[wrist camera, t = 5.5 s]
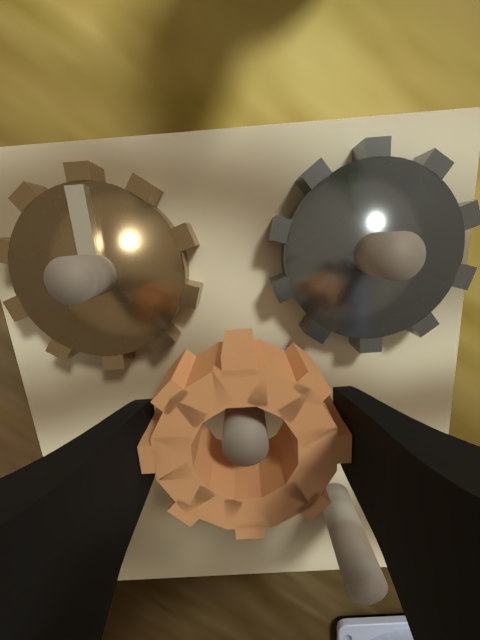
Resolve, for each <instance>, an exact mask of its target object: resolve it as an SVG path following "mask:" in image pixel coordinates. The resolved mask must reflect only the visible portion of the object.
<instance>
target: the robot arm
mask: <svg viewBox="0 0 480 640" xmlns="http://www.w3.org/2000/svg"><path fill="white" fill-rule="evenodd" d="M151 400H152V399H139V400H134V401H132V402H130V403H128V404H126V405H125V406H123V407H122V408H120V409H119V410H117V411H116V412H114V413H113V414H111V415H110V416H108V417H107V418H105V419H104V420H102V421H101V422H99V423H98V424H96V425H95V426H93V427H92V428H90V429H89V430H87V431H86V432H84V433H82V434H81V435H79V436H77V437H76V438H74V439H73V440H71V441H69V442H68V443H66V444H65V445H63V446H61V447H60V448H58V449H56V450H55V451H53V452H51V453H49V454H48V455H46V456H44V457H42V458H40V459H38V460H36V461H35V462H33V463H31V464H29V465H27V466H25V467H23V468H21V469H19V470H17V471H15V472H13V473H11V474H9V475H6V476H4V477H2V478H0V640H101V638H102V634H103V630H104V627H105V623H106V619H107V615H108V612H109V608H110V604H111V601H112V597H113V594H114V590H115V587H116V583H117V580H118V576H119V573H120V569H121V566H122V563H123V560H124V557H125V554H126V551H127V548H128V546H129V543H130V540H131V538H132V535H133V533H134V530H135V528H136V525H137V522H138V520H139V517H140V515H141V512H142V510H143V507H144V504H145V502H146V499H147V497H148V494H149V491H150V489H151V486H152V483H153V480H154V477H155V473H151V474H142V473H141V467H140V461H139V455H138V449H137V446H138V444H139V442H140V440H141V438H142V436H143V434H144V433H145V431H146V429H147V427H148V425H149V423H150V421H151V419H152V417H153V415H154V413H155V410H154V405H153V404H152V403H150V402H151ZM333 404H334V406H335V408H336V409H337V411H338V413H339V415H340V417H341V418H342V420H343V421H344V423H345V424H346V426H347V427H348V429H349V431H350V432H351V434H352V458H351V463H342V464H341V467H342V469H343V471H344V473H345V476H346V478H347V480H348V482H349V484H350V486H351V488H352V490H353V492H354V494H355V497H356V499H357V501H358V503H359V505H360V507H361V509H362V511H363V513H364V515H365V517H366V519H367V521H368V523H369V525H370V528H371V530H372V532H373V534H374V536H375V538H376V540H377V543H378V545H379V547H380V550H381V552H382V555H383V557H384V560H385V563H386V565H387V568H388V571H389V573H390V576H391V578H392V581H393V584H394V586H395V589H396V592H397V595H398V597H399V600H400V603H401V606H402V609H403V611H404V614H405V615H400V616H379V617H357V618H343V619H341V620H339V621H338V623H337V640H480V447H479V446H476V445H474V444H471V443H468V442H466V441H463V440H461V439H458V438H456V437H453V436H451V435H448V434H446V433H443V432H441V431H439V430H437V429H434V428H432V427H430V426H428V425H426V424H424V423H422V422H419V421H417V420H415V419H413V418H411V417H409V416H407V415H405V414H403V413H401V412H400V411H398V410H396V409H394V408H392V407H390V406H388V405H387V404H385V403H383V402H381V401H379V400H377V399H376V398H374V397H372V396H370V395H368V394H367V393H365V392H363V391H361V390H359V389H357V388H355V387H353V386H341V387H333Z"/></svg>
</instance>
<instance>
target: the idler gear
mask: <svg viewBox="0 0 480 640" xmlns="http://www.w3.org/2000/svg"><path fill="white" fill-rule="evenodd" d="M331 393H332V391H331V389H330V387H329V386H328V384H327V382H326V381H325V379H324V377H323V376H322V374H321V372H320V371H319V369H318V367H317V366H316V364H315V362H314V361H313V359H312V358H311V357H310V356H309V355H308V354H306V353H305V352H304V351H303V350H302V349H301V348H300V347H298V346H297V345H296V344H295V343H294V342H293V343H292V344H291V345H290V346H289V347H288V348H287V349H286V350H285V351H283V350H281V349H279V348H277V347H275V346H273V345H271V344H269V343H267V342H265V341H262V340H260V339H258V340H254V339H253V331H252V328H250V329H234V330H225V334H224V340H223V342H218V343H216V344H215V345H213V346H211V347H210V348H208V349H207V350H205V351H204V352H202V353H200V354H199V355H197V356H195V355H194V354H193V353H192V352H190V351H189V350H188V349H187V348H186V349H185V351H184V352H183V353H182V354H181V355H180V356H179V357H178V358H177V360H176V361H175V362H174V363H173V364H172V365H171V366H170V368H169V370H168V371H167V373H166V375H165V377H164V379H163V381H162V382H161V384H160V386H159V388H158V390H157V391H156V393H155V395H154V397H153V399H152V400H151V402H150V403H152V404H153V405H154V406H156V407H157V408H156V410H155V413H154V415H153V417H152V419H151V421H150V423H149V425H148V427H147V429H146V431H145V433H144V434H143V436H142V438H141V440H140V442H139V444H138V446H137V449H138V455H139V461H140V467H141V473H142V474H151V473H156V480H157V481H158V483H159V484H160V485H161V486H162V487H163V488H164V489H165V491H166V492H167V493H168V494H169V495H170V496H171V498H170V501H169V505H168V509H167V512H169V513H170V514H172V515H173V516H175V517H176V518H178V519H179V520H181V521H182V522H184V523H185V524H186V525H188V526H189V527H191V526H192V525H193V524H194V523H195V522H196V521H197V520H198V519H202V520H204V521H207V522H209V523H212V524H214V525H217V526H219V527H222V528H224V529H227V530H229V529H235V532H236V540H237V539H258V538H265V528H270V527H275V526H277V525H278V524H280V523H282V522H284V521H286V520H288V519H290V518H292V517H294V516H296V515H298V514H300V515H302V516H303V517H305V518H306V519H307V520H309V521H310V520H312V519H313V518H314V517H315V516H316V515H318V514H319V513H320V512H321V511H322V510H323V509H325V508H326V507H327V506H328V505H329V504H330V503H331V501H330V498H329V496H328V493H327V490H326V487H327V485H328V484H329V482H330V481H331V479H332V478H333V476H334V475H335V473H336V472H337V464H342V463H351V458H352V434H351V432H350V431H349V429H348V427H347V426H346V424H345V423H344V421H343V420H342V418H341V417H340V415H339V413H338V411H337V409H336V408H335V406H334V404H333V401H332V399H331V397H330V394H331ZM241 407H258V408H261V409H263V410H265V411H267V412H270V413H272V414H274V415H276V416H278V417H281V418H283V419H284V422H283V424H282V425H281V427H280V429H279V430H278V432H277V434H276V435H275V436H273V437H271V438H270V439H268V442H269V450H268V453H267V455H266V457H265V458H264V459H263V460H262V461H261V462H259V463H258V464H256V465H253V466H248V467H243V466H237V465H235V464H233V463H231V462H230V461H228V460H227V459H226V458H225V456H224V454H223V452H222V446H221V445H222V441H221V440H219V439H217V438H215V436H214V435H213V434H212V432H211V431H210V430H209V429H208V427H207V426H206V425H205V424H204V422H205V421H206V420H208V419H210V418H211V417H213V416H215V415H216V414H218V413H220V412H221V411H223V410H225V409H226V408H241Z"/></svg>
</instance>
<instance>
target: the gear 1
mask: <svg viewBox="0 0 480 640" xmlns="http://www.w3.org/2000/svg"><path fill="white" fill-rule="evenodd" d="M63 167H64V172H65V177H66V183H62V184H59V185H56V186H54V187H52V188H50V189H48V188H47V187H44V186H40V185H37V184H33V183H29V182H25V181H23V182H22V183H21V185H20V186H19V187H18V188H17V189H16V190H15V191H14V192H13V193H12V194H11V195H10V196H9V197H8V199H9V200H10V201H11V202H12V203H13V204H14V205H15V206H16V207H17V208H18V209H19V210H20V211H21V212H22V213H21V214H20V216H19V218H18V220H17V222H16V223H15V226H14V228H13V231H12V234H11V237H0V263H3V264H7V265H8V266H9V273H10V278H11V282H12V285H13V289H14V292H15V294H16V296H14V297H12V298H10V299H8V300H5V301H3V304H4V306H5V307H6V309H7V310H8V312H9V314H10V315H11V317H12V319H13V320H14V322H16V321H19V320H22V319H25V318H27V317H30V319H31V320H32V321H33V322H34V323H35V324H36V325H37V326H38V327H39V328H40V329H41V330H42V331H43V332H44V333H45V334H47V335H48V336H49V337H50V338H51V340H50V342H49V344H48V346H47V348H46V350H45V351H46V352H48V353H50V354H52V355H54V356H55V357H57V358H59V359H61V360H63V361H65V362H66V361H67V360H68V359H70V358H71V357H73V356H74V355H76V354H77V353H79V352H81V353H85V354H90V355H97V356H101V359H102V364H103V369H104V370H117V369H125V368H126V367H127V366H128V365H129V364H130V363H131V362H132V361H133V360H134V358H135V351H136V350H138V349H140V348H142V347H144V346H146V345H148V344H149V345H150V346H151V347H152V348H153V349H154V350H155V351H156V352H157V353H158V354H159V355H161V354H162V353H163V352H164V351H165V350H167V349H168V348H169V347H170V346H171V345H173V344H174V343H175V342H176V341H177V339H178V337H179V336H180V334H181V333H182V332H181V331H180V330H179V329H178V328H177V327H176V326H175V325H174V324H173V323H172V321H173V320H174V318H175V317H176V316H177V314H178V313H179V311H180V309H181V307H182V306H183V307H187V308H191V309H196V307H197V306H198V304H199V303H200V298H201V293H202V289H203V284H204V283H202V282H198V281H194V280H190V279H189V264H188V258H187V253H186V250H189V249H191V248H193V247H196V246H198V245H200V244H199V242H198V239H197V237H196V235H195V232H194V230H193V228H192V225H191V224H189V223H186V222H185V223H182V224H180V225H178V226H175V227H174V225H173V224H172V223H171V221H170V220H169V219H168V218H167V216H166V215H165V214H164V213H163V212H162V211H161V210H160V209H159V208H158V207H157V205H158V203H159V201H160V199H161V197H162V195H163V193H164V192H163V191H162V190H160V189H158V188H157V187H155V186H154V185H152V184H151V183H149V182H148V181H146V180H144V179H143V178H141V177H140V176H138V175H136V174H135V173H132V175H131V177H130V179H129V181H128V183H127V185H126V187H125V189H123V188H121V187H119V186H116V185H113V184H110V183H106V178H105V172H104V169H103V168H101V167H99V166H98V165H96V164H94V163H92V162H90V161H88V160H87V161H75V162H63ZM82 254H93V255H96V256H97V255H103V256H105V257H106V258H108V259H109V260H110V261H111V262H112V263H113V265H114V267H115V269H116V273H117V280H116V283H115V285H114V287H113V288H112V289H111V290H110V291H109V292H107V293H105V294H102V295H100V296H97V297H95V298H92V299H89V300H87V301H84V302H82V303H79V304H76V305H67V304H63V303H61V302H59V301H57V300H56V299H54V298H53V297H52V296H51V295H50V294H49V292H48V291H47V289H46V287H45V284H44V271H45V268H46V266H47V265H48V263H49V262H50V261H52V260H53V259H55V258H57V257H62V256H72V255H82Z"/></svg>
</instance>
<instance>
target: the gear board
mask: <svg viewBox="0 0 480 640" xmlns="http://www.w3.org/2000/svg"><path fill="white" fill-rule="evenodd" d="M381 136H392V137H391V156H393V157H400V158H405V159H408V160H413V159H414V158H415V157H417V156H419V155H421V154H423V153H425V152H427V151H430V150H432V149H434V148H436V149H437V150H439V151H440V152H441V153H442V154H444V155H445V156H446V157H448V158H449V159H450V160H452V161H453V162H454V164H453V166H452V167H451V168H450V170H449V171H448V173H447V174H446V175H445V177H444V178H443V179H442V180H443V181H444V182H445V183H446V185H447V186H448V187H449V188H450V190H451V191H452V193H453V195H454V196H455V198H456V200H457V202H458V203H462V202H467V201H473V200H474V197H475V188H476V179H477V169H478V160H479V151H480V107H476V108H464V109H452V110H440V111H428V112H416V113H404V114H392V115H380V116H368V117H356V118H344V119H332V120H320V121H308V122H296V123H284V124H272V125H260V126H248V127H236V128H224V129H212V130H200V131H188V132H176V133H164V134H152V135H140V136H128V137H116V138H104V139H92V140H80V141H68V142H56V143H44V144H32V145H20V146H8V147H0V237H11V234H12V231H13V228H14V226H15V223H16V222H17V220H18V218H19V216H20V214H21V213H22V212H21V211H20V210H19V209H18V208H17V207H16V206H15V205H14V204H13V203H12V202H11V201H10V200H9V199H8V197H9V196H10V195H11V194H12V193H13V192H14V191H15V190H16V189H17V188H18V187H19V186H20V185H21V183H22V182H23V181H25V182H29V183H33V184H37V185H40V186H44V187H47V188H48V189H50V188H52V187H54V186H56V185H59V184H62V183H66V177H65V172H64V167H63V162H75V161H87V160H88V161H90V162H92V163H94V164H96V165H98V166H99V167H101V168H103V169H104V172H105V178H106V183H110V184H113V185H116V186H119V187H121V188H123V189H125V187H126V185H127V183H128V181H129V179H130V177H131V175H132V173H135V174H136V175H138V176H140V177H141V178H143V179H144V180H146V181H148V182H149V183H151V184H152V185H154V186H155V187H157V188H158V189H160V190H162V191H163V192H164V193H163V195H162V197H161V199H160V201H159V203H158V205H157V207H158V208H159V209H160V210H161V211H162V212H163V213H164V214H165V215H166V216H167V218H168V219H169V220H170V221H171V223H172V224H173V225H174V227H175V226H178V225H180V224H182V223H185V222H186V223H189V224H191V225H192V228H193V230H194V232H195V235H196V237H197V239H198V242H199V244H200V245H198V246H196V247H193V248H191V249H189V250H186V253H187V258H188V264H189V279H190V280H194V281H198V282H202V283H204V284H203V289H202V293H201V298H200V303H199V304H198V306H197V307H196V309H191V308H187V307H183V306H182V307H181V309H180V311H179V313H178V314H177V316H176V317H175V318H174V320H173V321H172V323H173V324H174V325H175V326H176V327H177V328H178V329H179V330H180V331H181V332H182V333H181V334H180V336H179V337H178V339H177V341H176V342H175V343H174V344H173V345H171V346H170V347H169V348H168V349H167V350H165V351H164V352H163V353H162V354H161V355H159V354H158V353H157V352H156V351H155V350H154V349H153V348H152V347H151V346H150V345H149V344H148V345H146V346H144V347H142V348H140V349H138V350H136V351H135V358H134V360H133V361H132V362H131V363H130V364H129V365H128V366H127V367H126V368H125V369H117V370H104V369H103V364H102V359H101V356H97V355H90V354H85V353H81V352H79V353H77V354H76V355H74V356H73V357H71V358H70V359H68V360H67V361H66V362H65V361H63V360H61V359H59V358H57V357H55V356H54V355H52V354H50V353H48V352H46V351H45V350H46V348H47V346H48V344H49V342H50V340H51V338H50V337H49V336H48V335H47V334H45V333H44V332H43V331H42V330H41V329H40V328H39V327H38V326H37V325H36V324H35V323H34V322H33V321H32V320H31V319H30V317H27V318H25V319H22V320H19V321H16V322H14V320H13V319H12V317H11V315H10V314H9V312H8V310H7V309H6V307H5V306H4V304H3V301H5V300H8V299H10V298H12V297H14V296H16V294H15V292H14V289H13V285H12V282H11V278H10V273H9V266H8V265H7V264H3V263H0V299H1V303H2V307H3V310H4V314H5V318H6V321H7V325H8V329H9V332H10V336H11V340H12V344H13V347H14V351H15V355H16V358H17V362H18V366H19V369H20V373H21V377H22V380H23V384H24V388H25V391H26V395H27V399H28V403H29V406H30V410H31V414H32V417H33V421H34V425H35V428H36V432H37V436H38V439H39V443H40V447H41V451H42V454H43V457H44V456H46V455H48V454H49V453H51V452H53V451H55V450H56V449H58V448H60V447H61V446H63V445H65V444H66V443H68V442H69V441H71V440H73V439H74V438H76V437H77V436H79V435H81V434H82V433H84V432H86V431H87V430H89V429H90V428H92V427H93V426H95V425H96V424H98V423H99V422H101V421H102V420H104V419H105V418H107V417H108V416H110V415H111V414H113V413H114V412H116V411H117V410H119V409H120V408H122V407H123V406H125V405H126V404H128V403H130V402H132V401H134V400H139V399H153V397H154V395H155V393H156V391H157V390H158V388H159V386H160V384H161V382H162V381H163V379H164V377H165V375H166V373H167V371H168V370H169V368H170V366H171V365H172V364H173V363H174V362H175V361H176V360H177V358H178V357H179V356H180V355H181V354H182V353H183V352H184V351H185V349H186V348H187V349H188V350H189V351H190V352H192V353H193V354H194V355H195V356H197V355H199V354H200V353H202V352H204V351H205V350H207V349H208V348H210V347H211V346H213V345H215V344H216V343H218V342H223V340H224V334H225V330H234V329H250V328H252V331H253V339H254V340H258V339H260V340H262V341H265V342H267V343H269V344H271V345H273V346H275V347H277V348H279V349H281V350H283V351H285V350H286V349H287V348H288V347H289V346H290V345H291V344H292V343H293V342H294V343H295V344H296V345H297V346H298V347H300V348H301V349H302V350H303V351H304V352H305V353H306V354H308V355H309V356H310V357H311V358H312V359H313V361H314V362H315V364H316V366H317V367H318V369H319V371H320V372H321V374H322V376H323V377H324V379H325V381H326V382H327V384H328V386H329V387H330V389H331V391H332V393H331V394H330V397H331V399H332V401H333V387H341V386H353V387H355V388H357V389H359V390H361V391H363V392H365V393H367V394H368V395H370V396H372V397H374V398H376V399H377V400H379V401H381V402H383V403H385V404H387V405H388V406H390V407H392V408H394V409H396V410H398V411H400V412H401V413H403V414H405V415H407V416H409V417H411V418H413V419H415V420H417V421H419V422H422V423H424V424H426V425H428V426H430V427H432V428H434V429H437V430H439V431H441V432H443V433H446V434H448V433H449V424H450V415H451V406H452V397H453V388H454V379H455V370H456V361H457V352H458V342H459V333H460V324H461V315H462V306H463V297H464V289H459V288H455V287H451V288H450V290H449V292H448V293H447V294H446V296H445V297H444V298H443V300H442V301H441V302H440V303H439V304H438V306H437V307H436V308H435V309H434V310H433V311H432V312H431V313H432V314H433V315H434V317H435V318H436V320H437V321H438V322H439V325H438V326H436V327H435V328H434V329H432V330H431V331H429V332H428V333H427V334H425V335H424V336H422V337H421V338H420V337H418V336H416V335H414V334H412V333H411V332H409V331H407V330H403V331H400V332H398V333H395V334H392V335H388V336H384V337H383V338H382V352H373V353H359V352H358V351H357V350H356V349H355V348H354V347H353V346H352V345H351V344H350V343H349V337H347V336H343V335H339V334H337V333H334V332H331V333H330V335H329V336H328V338H327V339H326V340H325V342H324V343H323V344H321V343H319V342H318V341H316V340H314V339H313V338H311V337H309V336H308V335H306V334H305V333H304V332H303V331H302V329H301V328H300V326H299V325H298V324H299V323H300V322H301V320H302V319H303V317H304V316H305V314H306V312H305V311H304V310H303V309H302V308H301V307H300V305H299V304H298V303H297V302H296V300H295V299H294V298H292V299H290V300H287V301H285V302H282V303H279V302H278V300H277V298H276V296H275V293H274V291H273V288H272V286H271V283H270V280H269V278H271V277H273V276H276V275H278V274H280V273H283V270H282V263H281V246H282V243H278V242H274V241H270V240H267V237H268V233H269V229H270V225H271V222H272V218H273V217H274V216H276V215H277V216H281V217H285V218H288V219H289V218H290V216H291V214H292V212H293V210H294V209H295V207H296V205H297V204H298V203H299V201H300V200H301V199H302V197H303V196H304V194H303V192H302V191H301V190H300V188H299V187H298V186H297V184H296V183H295V181H296V180H297V179H298V178H299V177H300V175H301V174H303V173H304V172H305V171H306V170H307V169H308V168H309V167H311V166H312V165H313V164H314V163H315V162H316V161H317V160H319V159H320V158H321V157H322V159H323V160H324V162H325V163H326V164H327V166H328V167H329V169H330V170H331V171H332V172H334V171H335V170H337V169H339V168H340V167H342V166H345V165H347V164H349V163H351V162H352V148H354V147H355V146H356V145H357V144H358V143H360V142H361V141H362V140H363V139H365V138H368V137H381ZM470 233H471V228H470V229H468V230H465V247H464V253H463V259H462V262H461V264H465V265H467V261H468V251H469V242H470ZM425 259H426V247H425V244H424V242H423V240H422V239H421V238H420V237H419V236H418V235H417V234H415V233H413V232H410V231H391V232H374V233H370V234H367V235H365V236H364V237H363V238H361V239H360V240H359V242H358V243H357V245H356V247H355V249H354V262H355V264H356V266H357V268H358V269H359V270H360V271H362V272H363V273H365V274H369V275H373V276H376V277H380V278H383V279H387V280H391V281H396V282H400V281H405V280H408V279H410V278H412V277H413V276H415V275H416V274H417V273H418V272H419V271H420V270H421V268H422V266H423V265H424V262H425ZM116 280H117V273H116V269H115V267H114V265H113V263H112V262H111V261H110V260H109V259H108V258H106V257H105V256H103V255H97V256H96V255H93V254H82V255H72V256H62V257H57V258H55V259H53V260H52V261H50V262H49V263H48V265H47V266H46V268H45V271H44V284H45V287H46V289H47V291H48V292H49V294H50V295H51V296H52V297H53V298H54V299H56V300H57V301H59V302H61V303H63V304H67V305H76V304H79V303H82V302H84V301H87V300H89V299H92V298H95V297H97V296H100V295H102V294H105V293H107V292H109V291H110V290H111V289H112V288H113V287H114V285H115V283H116ZM156 408H157V407H156V406H154V410H156ZM283 422H284V419H283V418H281V417H278V416H276V415H274V414H272V413H270V412H267V411H265V410H263V409H261V408H258V407H241V408H226V409H225V410H223V411H221V412H220V413H218V414H216V415H215V416H213V417H211V418H210V419H208V420H206V421H205V422H204V424H205V425H206V426H207V427H208V429H209V430H210V431H211V432H212V434H213V435H214V436H215V438H217V439H219V440H221V441H222V445H221V446H222V452H223V454H224V456H225V458H226V459H227V460H228V461H230V462H231V463H233V464H235V465H237V466H243V467H248V466H253V465H256V464H258V463H259V462H261V461H262V460H263V459H264V458H265V457H266V455H267V453H268V450H269V442H268V439H270V438H271V437H273V436H275V435H276V434H277V432H278V430H279V429H280V427H281V425H282V424H283ZM326 490H327V493H328V496H329V498H330V501H331V503H330V504H329V505H328V506H327V507H326V508H325V509H323V510H322V511H321V512H320V513H319V514H318V515H316V516H315V517H314V518H313V519H312V520H310V521H309V520H307V519H306V518H305V517H303V516H302V515H300V514H298V515H296V516H294V517H292V518H290V519H288V520H286V521H284V522H282V523H280V524H278V525H277V526H275V527H270V528H265V538H258V539H237V540H236V532H235V529H229V530H227V529H224V528H222V527H219V526H217V525H214V524H212V523H209V522H207V521H204V520H202V519H198V520H197V521H196V522H195V523H194V524H193V525H192V526H191V527H189V526H188V525H186V524H185V523H184V522H182V521H181V520H179V519H178V518H176V517H175V516H173V515H172V514H170V513H169V512H167V509H168V505H169V501H170V498H171V496H170V495H169V494H168V493H167V492H166V491H165V489H164V488H163V487H162V486H161V485H160V484H159V483H158V481H157V480H156V473H155V477H154V480H153V483H152V486H151V489H150V491H149V494H148V497H147V499H146V502H145V504H144V507H143V510H142V512H141V515H140V517H139V520H138V522H137V525H136V528H135V530H134V533H133V535H132V538H131V540H130V543H129V546H128V548H127V551H126V554H125V557H124V560H123V563H122V566H121V569H120V573H119V576H118V580H117V581H119V580H139V579H158V578H178V577H198V576H217V575H237V574H256V573H276V572H296V571H315V570H335V569H340V572H341V576H342V579H343V582H344V586H345V589H346V592H347V595H348V597H349V599H350V600H351V601H353V602H354V603H357V604H360V605H370V604H374V603H377V602H379V601H380V600H382V599H383V598H384V597H385V596H386V594H387V592H388V585H387V582H386V580H385V577H384V575H383V573H382V570H381V568H380V567H387V565H386V563H385V560H384V557H383V555H382V552H381V550H380V547H379V545H378V543H377V540H376V538H375V536H374V534H373V532H372V530H371V528H370V525H369V523H368V521H367V519H366V517H365V515H364V513H363V511H362V509H361V507H360V505H359V503H358V501H357V499H356V497H355V494H354V492H353V490H352V488H351V486H350V484H349V482H348V480H347V478H346V476H345V473H344V471H343V469H342V467H341V464H337V472H336V473H335V475H334V476H333V478H332V479H331V481H330V482H329V484H328V485H327V487H326Z"/></svg>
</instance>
